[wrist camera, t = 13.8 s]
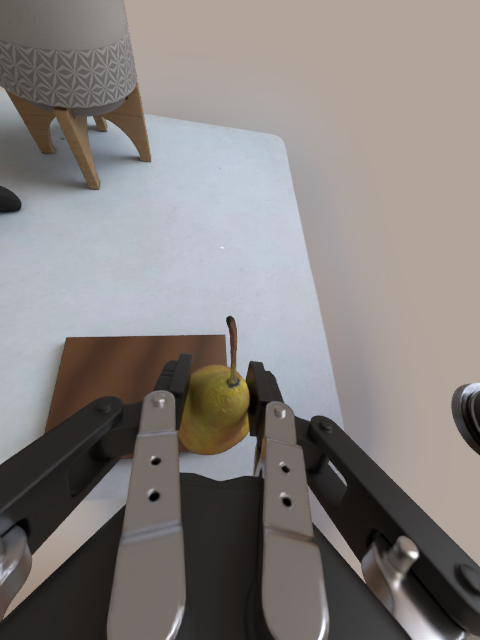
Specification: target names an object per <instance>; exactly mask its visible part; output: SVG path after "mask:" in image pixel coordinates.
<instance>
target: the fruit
mask: <svg viewBox="0 0 480 640" xmlns="http://www.w3.org/2000/svg"><path fill="white" fill-rule="evenodd" d="M226 322H227V325H228V328H229V333H230V345H231V352H230V353H231V368H229V367H227V366H223V365H216V364H213V365H207V366H203V367H201V368H199V369H197V370H196V371H194V372H193V373H191V379H190V384H189V389H188V394H187V398H186V403H185V407H184V412H183V416H182V421H181V425H180V430H177V431H178V435H179V437H180V439H181V441H182V443H183V444H184V446H185V447H186V448H187V449H188V450H189V451H191V452H193V453H196V454H201V455H214V454H219V453H222V452H225V451H227V450H228V449H230V448H232V447H233V446H235V445H236V444H238V443H239V442H240V441H242V440H243V439H244V438H245V437H246V435H247V434H248V432H249V422H248V414H247V410H248V407H249V390H248V387H247V384H246V382H245V380H244V379H243V378H242V376H241V375H240V374H239V373H238V372H237V371H236V351H237V328H236V323H235V320H234V318H233V317H232V316H228V317H227V318H226Z"/></svg>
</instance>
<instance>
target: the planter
mask: <svg viewBox="0 0 480 640" xmlns="http://www.w3.org/2000/svg"><path fill="white" fill-rule="evenodd" d="M0 86H1V87H3V88H4V89H5V90H6V92H7V94H8V95H9V97H10V99H11V100H12V102H13V104H14V106H15V107H16V109H17V111H18V112H19V114H20V116H21V118H22V119H23V121H24V123H25V124H26V126H27V128H28V130H29V131H30V133H31V135H32V136H33V138H34V140H35V142H36V143H37V145H38V147H39V148H40V150H41V152H42V153H51V154H53V153H54V150H55V148H54V146H53V144H52V141H51V137H50V123H51V121H52V120H53V119H54V118H55V117H56V118H57V120H58V122H59V124H60V126H61V128H62V130H63V133H64V135H65V137H66V139H67V141H68V143H69V145H70V148H71V150H72V152H73V154H74V156H75V158H76V160H77V163H78V165H79V167H80V169H81V171H82V173H83V175H84V178H85V180H86V182H87V184H88V186H89V188H90V189H99V188H100V180H99V178H98V175H97V172H96V169H95V165H94V162H93V158H92V154H91V149H90V144H89V138H88V131H87V116H93V118H94V120H95V122H96V125H97V128H98V130H99V131H107V123H106V119H107V120H109V121H110V122H112V123H113V124H115V125H116V126H118V127H119V128H120V129H121V130H122V131H123V132H124V133H125V134H126V135H127V136H128V137H129V138H130V139H131V141H132V142H133V143H134V145H135V147H136V149H137V150H138V152H139V155H140V158H141V161H148V162H151V153H150V148H149V142H148V136H147V130H146V125H145V119H144V113H143V108H142V102H141V96H140V91H139V85H138V82H137V74H136V69H135V63H134V57H133V51H132V46H131V40H130V34H129V29H128V23H127V18H126V12H125V6H124V0H0Z"/></svg>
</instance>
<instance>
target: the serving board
mask: <svg viewBox="0 0 480 640" xmlns="http://www.w3.org/2000/svg"><path fill="white" fill-rule="evenodd" d="M181 353H188V354H193V362H192V371H191V373H193V372H194V371H196V370H197V369H199V368H201V367H203V366H207V365H213V364H216V365H223V366H227V358H226V340H225V335H180V336H123V337H67V338H66V341H65V345H64V350H63V354H62V359H61V363H60V367H59V372H58V376H57V381H56V385H55V389H54V394H53V398H52V402H51V407H50V411H49V416H48V420H47V424H46V429H45V433H44V434H46V433H47V432H49V431H50V430H51V429H53V428H54V427H56V426H57V425H59V424H60V423H62V422H63V421H64V420H66V419H67V418H69V417H70V416H72V415H73V414H75V413H76V412H78V411H79V410H80V409H82V408H83V407H85V406H86V405H88V404H89V403H91V402H92V401H94V400H96V399H98V398H101V397H105V396H115V397H118V398H120V399H121V400H122V401H123V405H125V404H132V403H138V402H141V401H143V399H144V397H145V396H146V395H147V394H149V393H151V392H153V390H154V387H155V385H156V383H157V381H158V378H159V376H160V374H161V372H162V370H163V367H164V365H165V364H166V363H167V362H168V361H170V360H176V361H178V360H179V357H180V354H181ZM177 432H178V431H177ZM188 451H189V450H188V449H187V448H186V447H185V446H184V444H183V443H182V441H181V439H180V437H179V435H178V453H180V452H188ZM133 456H134V453H133V454H128V455H124V456H122V457H121V459H126V458H133Z"/></svg>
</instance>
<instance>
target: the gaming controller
mask: <svg viewBox="0 0 480 640" xmlns="http://www.w3.org/2000/svg"><path fill="white" fill-rule="evenodd" d="M20 208H21V201H20V199H19V198H18V197H17V196H16V195H15V194H14V193H13V192H11V191H10V190H8V189H6V188H4V187H2V186H0V210H6V211H15V210H19V209H20Z"/></svg>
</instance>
